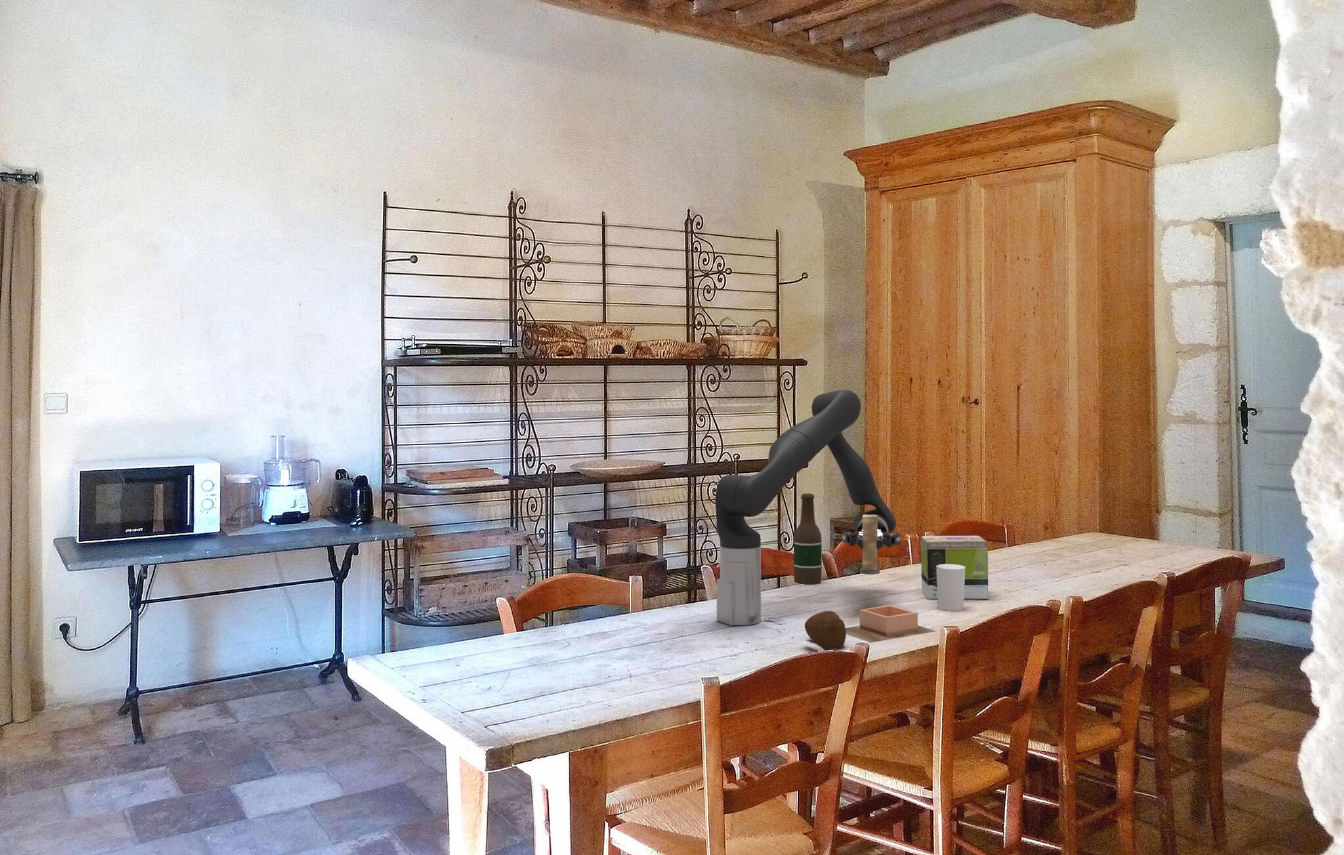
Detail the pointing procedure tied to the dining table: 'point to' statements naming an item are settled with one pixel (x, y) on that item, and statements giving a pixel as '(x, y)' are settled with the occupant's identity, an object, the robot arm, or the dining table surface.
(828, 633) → the potato
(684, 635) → the dining table surface
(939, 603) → the white upright cylinder
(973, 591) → the tea box
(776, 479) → the robot arm
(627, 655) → the dining table surface
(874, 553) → the tan cylinder
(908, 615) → the pink open tray
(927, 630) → the board
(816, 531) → the beer bottle
